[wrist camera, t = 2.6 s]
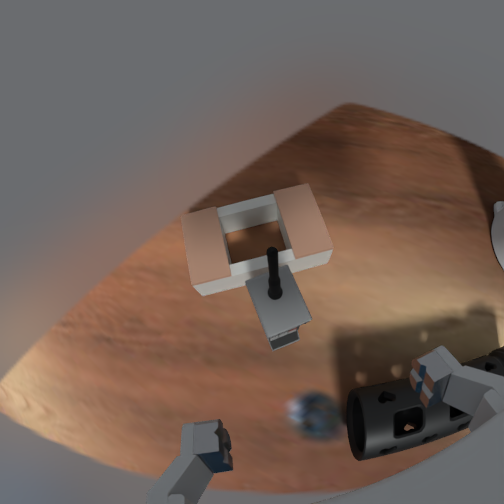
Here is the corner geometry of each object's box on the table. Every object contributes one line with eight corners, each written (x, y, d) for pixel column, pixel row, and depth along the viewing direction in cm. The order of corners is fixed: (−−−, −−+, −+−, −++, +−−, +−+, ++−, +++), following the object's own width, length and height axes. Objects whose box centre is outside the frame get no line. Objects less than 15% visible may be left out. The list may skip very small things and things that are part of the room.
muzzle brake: (342, 384, 34) (364, 388, 25) (499, 345, 33) (540, 333, 23) (345, 450, 31) (366, 473, 21) (502, 400, 29) (543, 398, 19)
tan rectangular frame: (305, 204, 45) (308, 183, 40) (327, 263, 41) (333, 247, 36) (191, 233, 45) (180, 215, 40) (202, 296, 41) (191, 284, 36)
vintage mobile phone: (272, 351, 37) (260, 319, 14) (258, 317, 39) (226, 233, 16) (299, 340, 37) (330, 290, 14) (284, 306, 39) (290, 209, 16)
